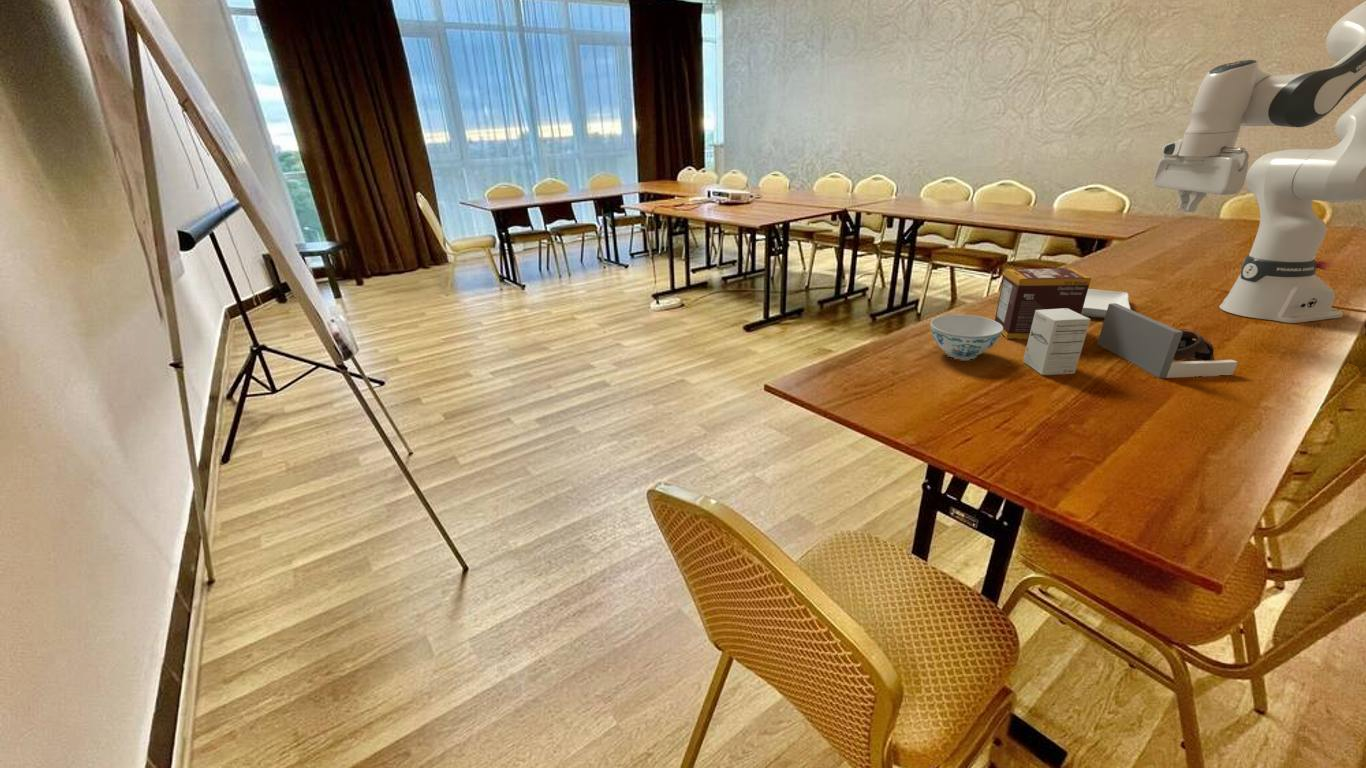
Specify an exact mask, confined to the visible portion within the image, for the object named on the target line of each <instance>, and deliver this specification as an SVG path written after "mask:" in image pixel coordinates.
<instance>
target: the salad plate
mask: <svg viewBox="0 0 1366 768" xmlns="http://www.w3.org/2000/svg"><path fill="white" fill-rule="evenodd" d="M1129 298H1130V297H1129V293H1128V292H1124V291H1114V290H1113V291H1112V290H1103V289H1095V288H1094V289H1093V288H1088V291H1087V295H1086V298H1085V302H1084V306H1083V309H1082V312H1081V315H1083V316H1085V317H1089V316H1090V317H1091V318H1103V319H1105V316H1106V312H1107V309H1108V305H1109V304H1112V303H1116V304H1119V305H1121V306H1123V307H1126V308H1128V309H1130V310H1132V309H1131V305H1130V302H1129Z"/></svg>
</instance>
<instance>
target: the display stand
mask: <svg viewBox="0 0 1366 768" xmlns="http://www.w3.org/2000/svg"><path fill="white" fill-rule="evenodd" d="M1130 309H1131V308H1130ZM1130 309H1128V308H1126V307H1123V306H1121V305H1119V304H1116V303H1112V304H1109V305H1108V309H1107V312H1106V316H1105V318H1103V319H1104V320H1103V324H1102V325H1101V330H1100V333H1099V336H1098V340H1097V342H1096V343H1097V345H1098V346H1101V347H1102V348H1104V349H1105V350H1107V351H1110V352H1111V353H1113V354H1114V355H1116V354H1117V355H1116V356H1118V355H1119V357H1120V358H1122V359H1124V360H1125V359H1126V361H1128V362H1129V361H1130V362H1129V363H1131V364H1132V365H1134V364H1135V365H1134V366H1136V365H1137V367H1138V368H1140V369H1142V370H1143V371H1145V372H1147V373H1149V374H1150V375H1152V376H1154V377H1157V379H1166V378H1167V379H1168V378H1170V379H1171V378H1195V376H1196V378H1197V377H1198V376H1202V377H1220V376H1219V375H1232V376H1233V374H1234V372H1235V370H1236V368H1237V365H1238V361H1236V360H1234V359H1219V360H1218V359H1217V360H1211V361H1204V360H1194V361H1192V360H1186V361H1183V360H1182V361H1173V360H1174V359H1173V358H1174V356H1175V353H1176V350H1177V347H1178V345H1179V342H1180V339H1181V337H1182V334H1183V332H1182V331H1179V330H1180V329H1177V328H1176V327H1175V328H1174V327H1172V326H1170V325H1168V324H1165V323H1163V322H1160V321H1158V320H1156V319H1154V318H1151V317H1148V316H1147V315H1144V314H1142V313H1139V312H1137V311H1135V310H1133V309H1131V310H1130ZM1198 378H1199V377H1198Z"/></svg>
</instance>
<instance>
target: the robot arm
mask: <svg viewBox="0 0 1366 768" xmlns="http://www.w3.org/2000/svg"><path fill="white" fill-rule="evenodd" d="M1325 49H1326V52H1327V54H1328V56H1329V58H1331V59H1332V60H1333V61H1334V62H1336V63H1334V64H1333V65H1331V66H1329V67H1327V68H1322V69H1319V70H1314V71H1307V72H1300V73H1298V72H1297V73H1289V74H1288V73H1287V74H1279V75H1271V74H1270V73H1266V72H1264V71H1263V70H1261V69H1260V68H1259V61H1258V60H1254V59H1245V60H1237V61H1235V62H1234V61H1233V62H1229V63H1224V64H1221V65H1219V66H1215V67H1214V68H1213V67H1212V69H1210V70H1208V71H1207V73H1206V75H1205V76H1204V77H1203V79H1202V81H1201V83H1200V86H1199V88H1198V90H1197V93H1196V95H1195V98H1194V101H1193V105H1192V107H1191V110H1190V111H1191V112H1190V122H1189V124H1188V126H1187V128H1186V130H1185V131H1184V134H1183V138H1180V139H1178V140H1176V141H1173V142H1170V143H1167V144H1165V145H1163V146H1162V147H1161V150H1160V155H1161V158H1159V160H1158V162H1157V165H1156V168H1155V171H1154V175H1153V179H1152V180H1153V181H1152V183H1153V186H1154V187H1156V188H1160V189H1161V188H1162V189H1171V190H1178V192H1177V199H1178V203H1179V204H1178V207H1177V211H1181V212H1187V213H1193V212H1196V211H1197V208H1198V205H1199V204H1200V202H1202V201H1203V200H1204V199H1205V197H1206V196H1207V194H1211V195H1218V196H1219V195H1220V196H1225V195H1227V196H1229V195H1236V194H1238V193H1240V192H1241V190H1243V188H1244V186H1245V184H1246V187H1247V188H1248V190H1249V191H1250V192H1251V193H1252V194H1253V196H1254V197H1255V198H1256V200H1257V204H1258V209H1259V223H1258V224H1259V226H1258V229H1257V233H1256V236H1255V239H1254V241H1253V244H1252V246H1251V249H1250V252H1249V254H1247V255H1246V256H1245V257H1244V259H1243V262H1242V266H1241V271H1240V274H1239V276H1238V277H1237V278H1236V281H1235V282H1234V283H1233V285H1232V288H1231V289H1230V291H1229V292H1228V294H1227V296H1226V297H1225V298H1223V302H1222V303H1221V304H1220V305H1219V309H1221V310H1222V311H1225V312H1226V313H1230V314H1233V315H1237V316H1242V317H1245V318H1247V317H1248V318H1251V319H1252V318H1253V319H1258V320H1259V319H1260V320H1268V321H1269V320H1270V321H1275V322H1281V323H1286V324H1297V323H1305V322H1313V321H1321V320H1329V319H1330V320H1331V319H1339V318H1343V315H1344V313H1343V312H1342V311H1341V310H1338V309H1336V308H1333V307H1332V306H1333V304H1334V300H1335V298H1336V296H1335V295H1336V294H1335V291H1334V289H1333V288H1331V287H1330V286H1329V285H1328V284H1326V283H1325V282H1324V281H1323V280H1322V279H1321V278H1319V277H1318V276H1317V275H1316V273H1317V272H1316V271H1317V269H1319V270H1322V271H1326V270H1328V269H1329V268H1330V267H1331V266H1332V262H1331V261H1327V260H1326V261H1325V260H1322V259H1320V260H1318V261H1317V260H1315V258H1316V255H1317V253H1318V251H1319V248H1320V247H1321V244H1322V242H1323V241H1324V238H1325V235H1326V233H1327V228H1328V227H1327V224H1326V222H1325V221H1324V220H1322V219H1321V218H1320V217H1319V216H1318V215H1316V213H1315V212H1314V208H1313V201H1318V202H1319V201H1320V202H1321V201H1322V202H1330V203H1341V202H1342V203H1343V202H1345V203H1346V202H1357V201H1366V92H1365V93H1364V94H1363V95H1362V96H1361V97H1360V98H1359V99H1358V100H1357V101H1355V102H1354V103H1353V104H1352V105H1351V106H1350V107H1349V108H1348V109H1347V110H1346V111H1344V113H1342V115H1340V116H1339V117H1338V119H1337V121H1336V123H1335V126H1334V133H1335V134H1334V135H1335V136H1336V138H1337V139H1338V140H1339V141H1340V142H1339V143H1337V144H1336V145H1335V146H1332V147H1330V148H1290V149H1283V150H1277V151H1272V152H1268V153H1265V154H1263V155H1262V156H1260V157H1259V158H1257V159H1256V160H1255V161H1254V162H1253V163H1252V164H1251V166H1250V167H1249V158H1250V153H1249V152H1248V151H1247V150H1246V148H1245V147H1235V145H1236V143H1237V139H1238V137H1239V134H1240V131H1241V127H1285V128H1286V127H1287V128H1305V127H1308V126H1311V125H1313V124H1315V123H1317V122H1319V121H1320V120H1321V119H1323V118H1324V117H1326V116H1328V114H1329V113H1331V112H1332V111H1333V110H1334V109H1335V108H1336V107H1337V106H1338V105H1339V103H1340V102H1341V101H1342V100H1343V99H1344V98H1345V97H1346V96H1347V95H1348V94H1349V93H1351V92H1352V91H1353V90H1355V89H1356V88H1357V87H1359V86H1360V85H1361V84H1362V83H1363V82H1364V81H1366V0H1365V1H1363V2H1362V3H1360V4H1359V5H1357V6H1355V7H1354V8H1353V9H1350V10H1349V11H1348V12H1347V13H1345V14H1344V15H1343V16H1342V17H1341V18H1340V19H1338V20H1337V21H1336V22H1335V23H1334V24H1333V25H1332V27H1331V28H1330V29H1329V31H1328V34H1327V36H1326V38H1325ZM1191 197H1192V198H1191ZM1190 198H1191V199H1190Z"/></svg>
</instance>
